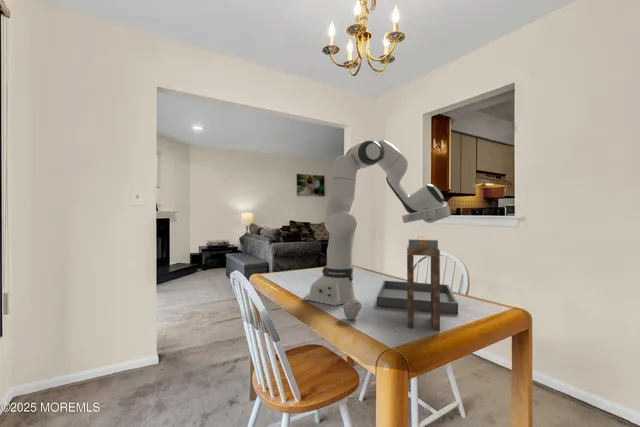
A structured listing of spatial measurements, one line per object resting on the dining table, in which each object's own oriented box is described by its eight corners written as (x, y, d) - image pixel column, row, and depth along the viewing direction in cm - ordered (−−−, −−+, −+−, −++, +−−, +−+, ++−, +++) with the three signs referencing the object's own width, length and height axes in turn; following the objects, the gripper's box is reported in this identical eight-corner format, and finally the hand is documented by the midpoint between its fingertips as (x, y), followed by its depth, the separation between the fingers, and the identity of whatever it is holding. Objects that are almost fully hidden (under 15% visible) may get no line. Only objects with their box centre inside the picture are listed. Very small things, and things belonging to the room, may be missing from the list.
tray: (377, 306, 116) (377, 296, 116) (383, 288, 144) (383, 280, 144) (458, 314, 107) (458, 303, 107) (448, 293, 135) (448, 284, 135)
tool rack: (407, 327, 94) (407, 248, 94) (407, 315, 106) (407, 245, 106) (440, 331, 91) (439, 249, 91) (436, 318, 103) (436, 246, 103)
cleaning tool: (408, 248, 95) (408, 239, 95) (409, 242, 116) (409, 235, 116) (437, 249, 92) (437, 240, 92) (432, 243, 113) (432, 235, 113)
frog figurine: (362, 322, 98) (362, 302, 98) (342, 321, 99) (341, 301, 99) (361, 316, 104) (361, 297, 105) (342, 315, 105) (342, 296, 105)
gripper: (408, 211, 139) (394, 214, 129) (450, 201, 125) (439, 203, 115) (411, 223, 139) (398, 228, 128) (454, 215, 125) (443, 219, 114)
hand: (417, 216), depth 122 cm, fingers open, 8 cm apart
